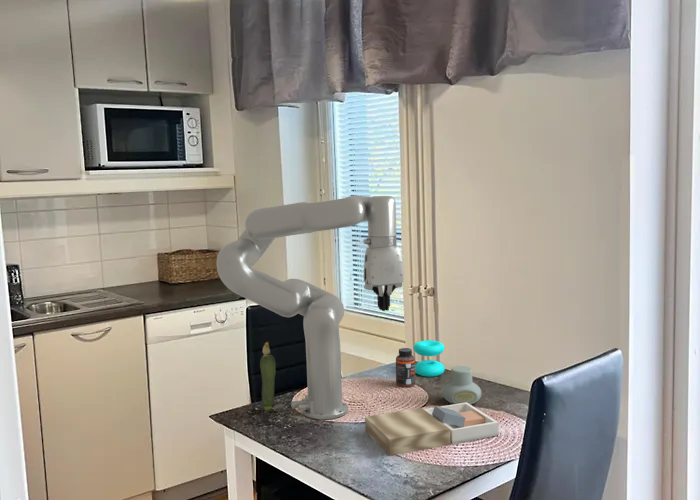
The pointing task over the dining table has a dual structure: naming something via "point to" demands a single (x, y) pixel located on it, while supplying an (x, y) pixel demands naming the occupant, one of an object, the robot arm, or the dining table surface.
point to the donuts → (429, 366)
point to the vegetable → (267, 377)
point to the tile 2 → (472, 418)
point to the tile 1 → (448, 416)
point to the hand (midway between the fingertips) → (383, 309)
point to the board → (407, 431)
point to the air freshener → (461, 387)
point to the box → (469, 432)
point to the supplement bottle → (405, 368)
